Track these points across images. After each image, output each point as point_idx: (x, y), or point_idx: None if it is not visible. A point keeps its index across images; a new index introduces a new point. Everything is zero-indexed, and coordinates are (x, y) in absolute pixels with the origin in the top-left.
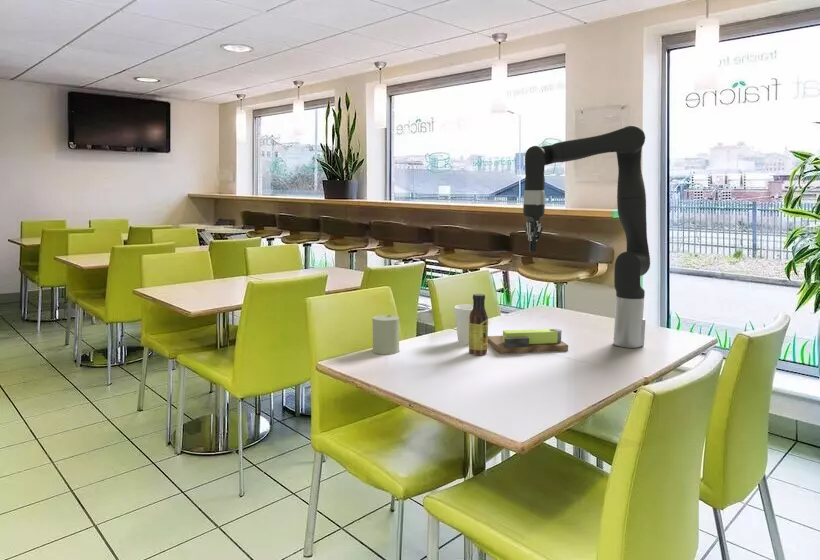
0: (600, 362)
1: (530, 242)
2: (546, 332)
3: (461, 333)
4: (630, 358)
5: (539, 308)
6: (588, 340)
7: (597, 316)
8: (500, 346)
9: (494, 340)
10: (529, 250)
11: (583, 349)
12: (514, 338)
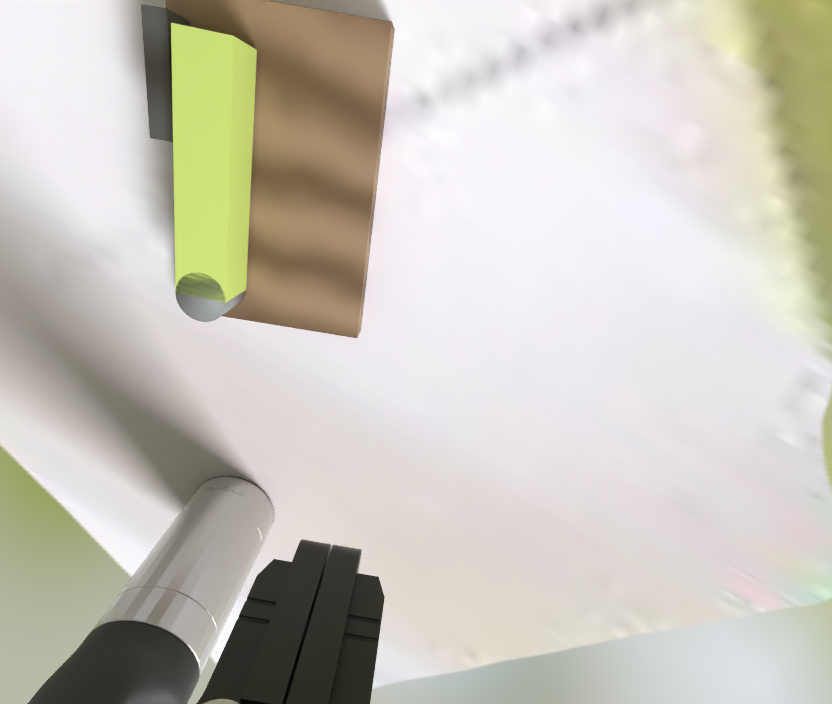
0: (50, 322)
1: (251, 674)
2: (176, 242)
3: None
4: (91, 428)
5: (829, 561)
6: (309, 441)
7: (595, 642)
8: (194, 1)
9: (303, 26)
10: (338, 548)
11: (204, 362)
12: (149, 58)
